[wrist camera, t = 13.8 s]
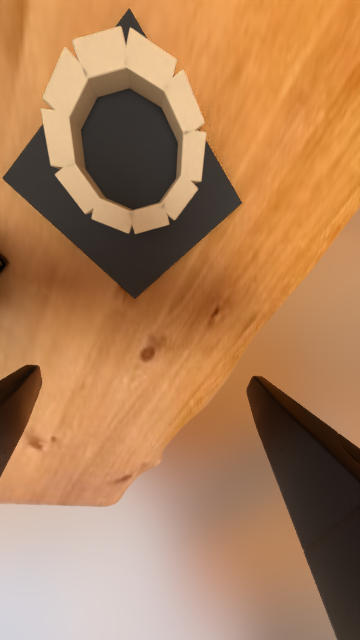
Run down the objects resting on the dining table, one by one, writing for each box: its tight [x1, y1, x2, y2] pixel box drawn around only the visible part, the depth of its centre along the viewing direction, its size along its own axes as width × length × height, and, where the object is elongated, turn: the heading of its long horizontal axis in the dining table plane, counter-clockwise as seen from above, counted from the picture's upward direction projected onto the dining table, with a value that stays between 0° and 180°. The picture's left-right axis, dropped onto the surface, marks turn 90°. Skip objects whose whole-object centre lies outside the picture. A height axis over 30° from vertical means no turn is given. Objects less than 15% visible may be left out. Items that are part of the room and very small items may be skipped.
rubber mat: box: [3, 9, 242, 298], centre depth 16 cm, size 12×12×1 cm
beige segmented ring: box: [41, 26, 206, 234], centre depth 13 cm, size 9×9×2 cm
